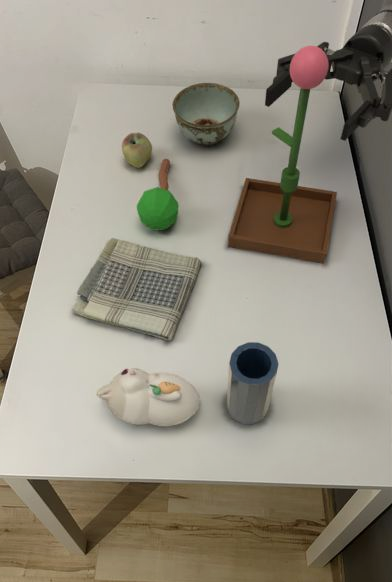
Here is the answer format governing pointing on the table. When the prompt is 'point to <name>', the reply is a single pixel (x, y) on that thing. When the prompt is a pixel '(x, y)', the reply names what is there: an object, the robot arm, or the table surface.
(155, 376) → the cat figurine
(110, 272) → the dish towel
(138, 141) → the apple
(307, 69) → the flower
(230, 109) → the bowl
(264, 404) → the vase
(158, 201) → the tree
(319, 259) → the tray
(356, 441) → the table surface
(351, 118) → the robot arm
